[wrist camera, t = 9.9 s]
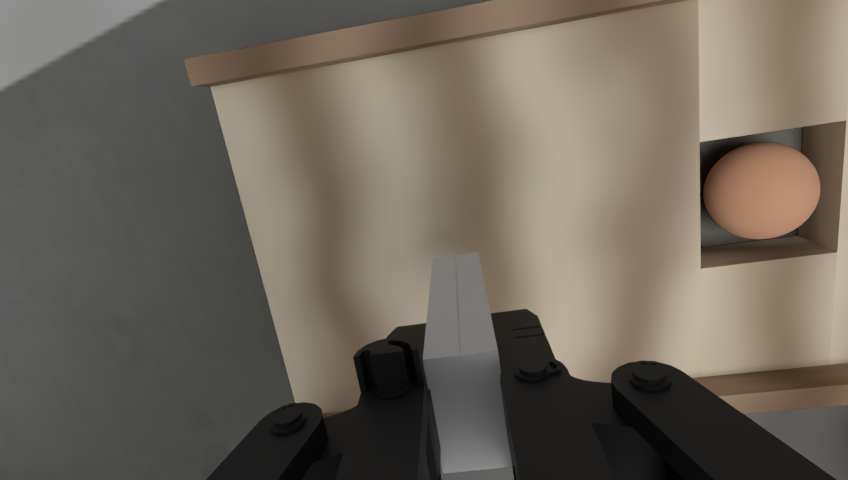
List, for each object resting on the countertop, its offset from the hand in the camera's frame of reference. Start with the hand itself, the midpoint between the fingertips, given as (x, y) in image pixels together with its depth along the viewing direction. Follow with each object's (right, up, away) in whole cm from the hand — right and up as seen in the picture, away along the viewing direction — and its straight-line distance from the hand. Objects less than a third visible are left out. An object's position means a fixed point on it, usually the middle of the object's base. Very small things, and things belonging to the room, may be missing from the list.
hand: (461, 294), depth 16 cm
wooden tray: (+6, +3, +7) cm, 10 cm away
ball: (+13, +4, +4) cm, 14 cm away
